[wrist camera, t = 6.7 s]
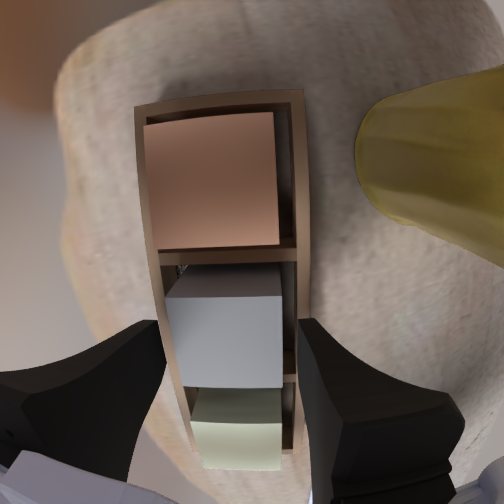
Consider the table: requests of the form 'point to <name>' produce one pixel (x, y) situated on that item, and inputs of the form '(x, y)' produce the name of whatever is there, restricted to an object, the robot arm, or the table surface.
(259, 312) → the grey block
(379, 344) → the table surface
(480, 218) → the vase
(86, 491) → the robot arm
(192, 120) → the walnut rack
